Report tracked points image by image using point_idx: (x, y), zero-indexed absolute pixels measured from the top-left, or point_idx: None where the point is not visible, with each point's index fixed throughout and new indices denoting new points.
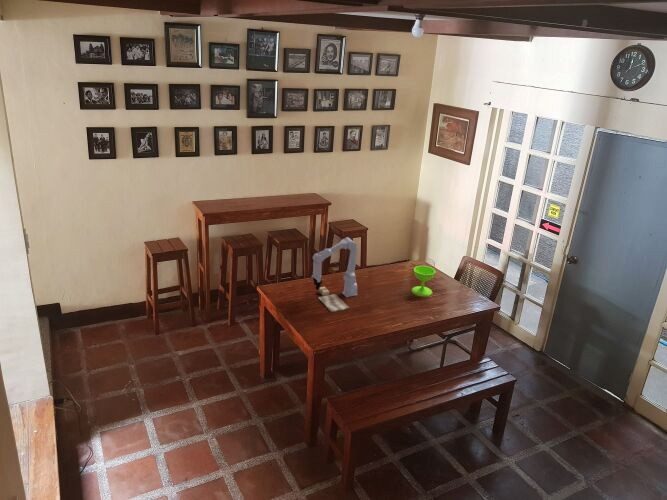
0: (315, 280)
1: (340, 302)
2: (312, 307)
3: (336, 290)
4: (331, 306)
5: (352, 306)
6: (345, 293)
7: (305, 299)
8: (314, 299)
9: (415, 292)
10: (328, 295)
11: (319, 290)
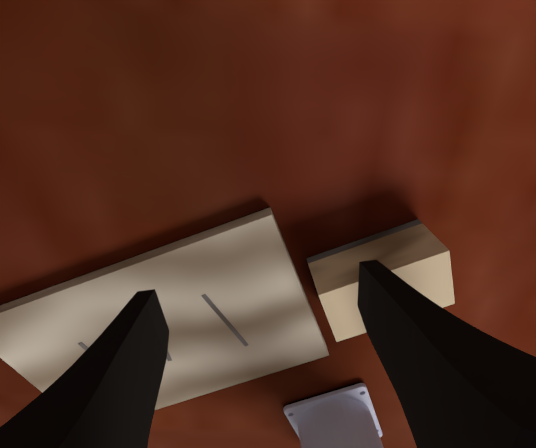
0: (407, 358)
1: (167, 385)
2: (13, 131)
3: None
4: (66, 328)
5: None
6: (314, 419)
7: (239, 39)
8: (242, 166)
9: None
10: (305, 308)
11: (416, 238)
